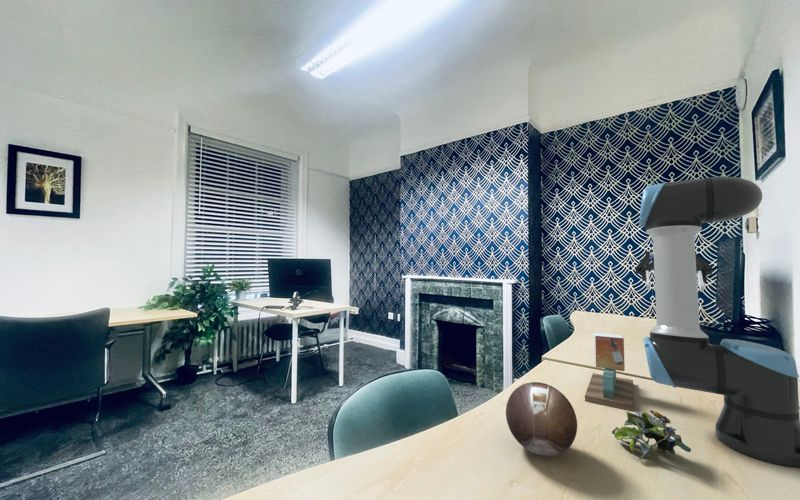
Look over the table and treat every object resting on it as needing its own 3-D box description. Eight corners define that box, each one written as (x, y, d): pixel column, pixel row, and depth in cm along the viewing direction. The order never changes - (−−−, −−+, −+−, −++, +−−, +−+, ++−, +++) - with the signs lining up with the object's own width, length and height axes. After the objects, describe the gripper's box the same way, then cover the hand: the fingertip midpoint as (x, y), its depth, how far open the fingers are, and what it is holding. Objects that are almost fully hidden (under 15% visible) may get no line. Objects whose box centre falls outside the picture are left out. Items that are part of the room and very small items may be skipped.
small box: (595, 367, 105) (594, 335, 106) (594, 363, 110) (593, 332, 111) (625, 371, 102) (624, 338, 102) (622, 366, 106) (621, 334, 107)
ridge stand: (632, 411, 92) (631, 382, 93) (584, 400, 99) (584, 374, 100) (633, 384, 112) (632, 360, 112) (593, 377, 119) (592, 355, 119)
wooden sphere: (514, 469, 68) (512, 396, 68) (501, 431, 82) (500, 372, 83) (590, 474, 66) (588, 399, 66) (563, 434, 80) (561, 374, 81)
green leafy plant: (662, 475, 73) (703, 444, 68) (639, 483, 68) (682, 450, 63) (619, 427, 82) (653, 397, 77) (596, 431, 76) (631, 398, 72)
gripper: (713, 250, 114) (725, 297, 101) (627, 252, 128) (628, 293, 116) (716, 234, 110) (728, 281, 97) (626, 238, 124) (627, 279, 112)
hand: (674, 288), depth 106 cm, fingers open, 13 cm apart
